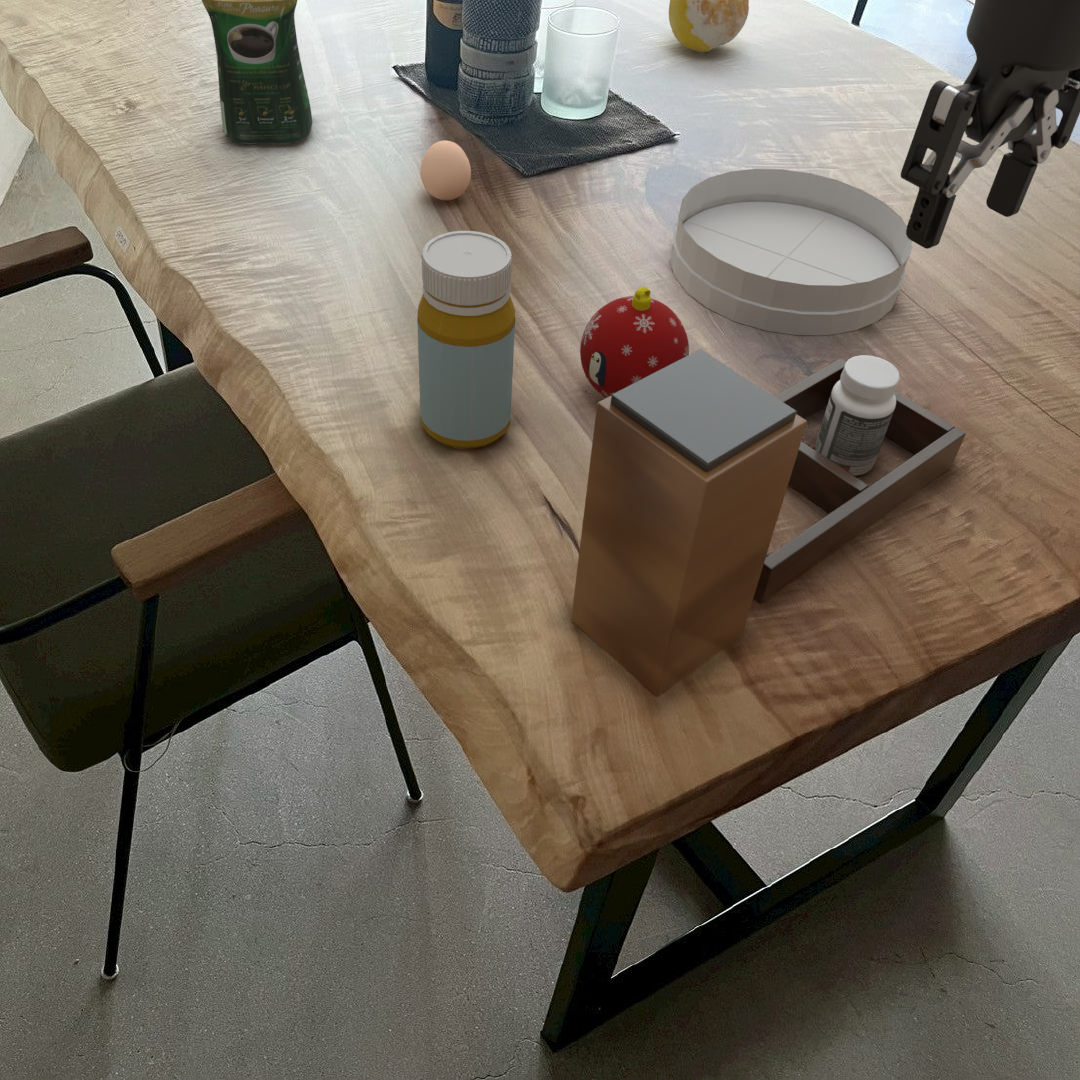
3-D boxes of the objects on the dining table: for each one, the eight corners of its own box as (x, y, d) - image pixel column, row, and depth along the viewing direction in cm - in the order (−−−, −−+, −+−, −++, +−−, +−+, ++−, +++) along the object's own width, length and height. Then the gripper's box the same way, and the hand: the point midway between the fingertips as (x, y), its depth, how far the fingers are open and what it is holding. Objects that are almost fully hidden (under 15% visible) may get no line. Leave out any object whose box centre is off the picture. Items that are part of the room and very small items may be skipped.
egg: (414, 189, 108) (412, 134, 104) (460, 183, 110) (460, 128, 106) (430, 213, 105) (429, 156, 101) (477, 205, 107) (478, 149, 103)
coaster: (794, 419, 56) (797, 410, 55) (706, 473, 52) (708, 464, 52) (698, 357, 59) (700, 348, 59) (610, 403, 56) (611, 394, 55)
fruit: (648, 48, 139) (658, -34, 132) (693, 29, 145) (705, -51, 138) (711, 71, 135) (726, -12, 128) (755, 50, 141) (771, -31, 134)
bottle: (412, 403, 84) (405, 232, 73) (496, 391, 85) (502, 222, 75) (432, 459, 79) (428, 286, 68) (521, 445, 81) (530, 274, 70)
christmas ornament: (701, 403, 86) (723, 298, 79) (622, 441, 82) (638, 334, 75) (633, 352, 90) (648, 248, 83) (554, 385, 86) (563, 279, 79)
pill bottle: (886, 466, 81) (920, 380, 75) (840, 485, 80) (871, 397, 74) (845, 431, 84) (875, 345, 78) (800, 448, 82) (827, 361, 76)
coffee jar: (314, 117, 119) (296, -65, 106) (311, 148, 114) (292, -39, 100) (227, 116, 118) (198, -67, 105) (220, 148, 112) (188, -42, 99)
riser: (742, 635, 69) (808, 420, 56) (657, 697, 65) (706, 482, 52) (655, 565, 73) (698, 350, 60) (570, 619, 69) (596, 402, 56)
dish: (930, 260, 104) (946, 214, 101) (848, 365, 91) (864, 316, 87) (729, 192, 112) (738, 147, 108) (627, 279, 98) (633, 231, 95)
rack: (951, 467, 82) (966, 432, 79) (760, 605, 71) (771, 569, 68) (829, 391, 88) (840, 357, 85) (635, 507, 77) (641, 471, 74)
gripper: (1041, 4, 54) (937, 281, 65) (1189, -35, 60) (1071, 224, 72) (926, -40, 58) (848, 228, 69) (1076, -71, 64) (982, 179, 76)
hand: (961, 226), depth 70 cm, fingers open, 8 cm apart
